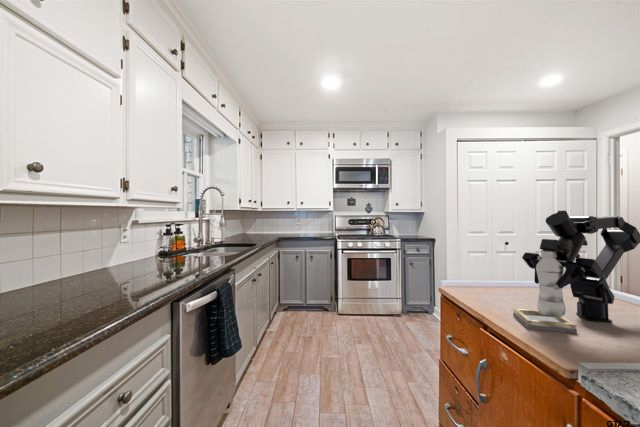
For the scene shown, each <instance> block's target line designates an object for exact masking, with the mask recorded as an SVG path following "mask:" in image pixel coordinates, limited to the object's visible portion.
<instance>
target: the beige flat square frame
mask: <svg viewBox="0 0 640 427" xmlns="http://www.w3.org/2000/svg"><path fill="white" fill-rule="evenodd" d="M512 315H513V316H514V317H515V319H517V320H518V321H519V322H520V323H522V325H523V326H524V327H525V328H527V330H528V329H530V330H539V331H549V332H557V333H558V332H559V333H569V334H578V329H577V324H575V323H574V322H572V321H571V320H569V319H568V318H566V317H565V316H563V317H550V316H546V315H543V314H541V313H540V312H539V311H538V309H527V308H526V309H524V308H513V314H512Z"/></svg>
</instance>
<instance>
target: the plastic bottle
mask: <svg viewBox="0 0 640 427" xmlns="http://www.w3.org/2000/svg"><path fill="white" fill-rule="evenodd" d="M540 256H541V257H542V259H541V260H540V261H539V262H538V263H537V265H536V270H537V276H538V282H539V283H538V298H537V304H536V306H537V307H536V308H537V310H538V311H539V312H540V313H541V314H543V315H546V316H550V317H565V314H566V304H565V302H564V294H563V288H559V287H558V284H559V282H560V280H561V278H562V276H563V274H564V273H565V268H563V266H562V265H561V263H560V262H559V261H558V260H557V259H556V257H557V254H556V251H550V250H541V249H540Z"/></svg>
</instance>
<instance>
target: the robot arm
mask: <svg viewBox="0 0 640 427" xmlns="http://www.w3.org/2000/svg"><path fill="white" fill-rule="evenodd" d="M545 223H546V225H547V226H548V227H549V229H550V231H551V232H552V233H553V234H554V236H556V237H559V238H558V239H553V238H552V239H548V238H541V241H540V245H539V250H540V251H541V250H550V251H556V254H557V257H556V259H557V260H558V261H559V262H560V263H561V265H562V266H563V268H564V269H565V270H564V272H563V276H562V278H561V280H560V282H559V284H558V287H559V288H562V289H563V288H565V287H567V286H569V285H570V289H571V293H572V297H573V298H578V301H577V302H576V312H575V314H576V315H577V316H580V317H581V318H583V319H585V321H593V322H607V323H613V320H612V319H610V318H609V317H610V316H609V305H612V304H614V301H615V295H614V293H613V292H612V290H611V289H610V285H609V284H608V281H607V279H608V278H609V276H610V275H611V273H612V272H613V270H614V268H616V265H617V264H618V262H619V261H620V259H622V256H623V255H624V253H626V252H627V253H628V252H630V251H632V250H634V249H636V248H637V247H638V245H639V244H640V232H639V230H638V228H637V227H636V226H634V225H632V224H631V223H629V222H627V221H625V219H624V218H623V217H622V216H618V215H616V216H615V215H614V216H612V215H611V216H608V215H607V216H606V215H605V216H601V217H597V216H593V215H575V216H574V215H569V214H568V212H567V210H565V209H564V210H557V212H555V213H553V214H550V215H549V216H547V217H546V218H545ZM612 228H614V229H612ZM615 228H617V229H615ZM601 229H602V230H601ZM599 230H601V231H600V235H601V237H602V240H603V241H604V243H605V244H604V246H603V248H602V249H601V251H600V252H599V254H598V255H597V256H596V258H595V259H594V258H589V257H588V258H585V257H581V255H580V254H579V252H580V251H581V249H582V247H583V246H588V241H587V238H586V236H585V235H584V234H586V235H587V234H588V235H590V234H591V235H592V234H595V233H597V232H599ZM521 258H522V260H523V261H524V262H525V264H526V265H527V266H528V267H529V268H530V269H534V283H535V284H536V285H537V284H538V285H539V282H538V276H537V270H536V265H537V263H538V262H539V261H540V260H541V259H542V257H541V254H539V253H537V252H524V253H523V255H522V257H521Z"/></svg>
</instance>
